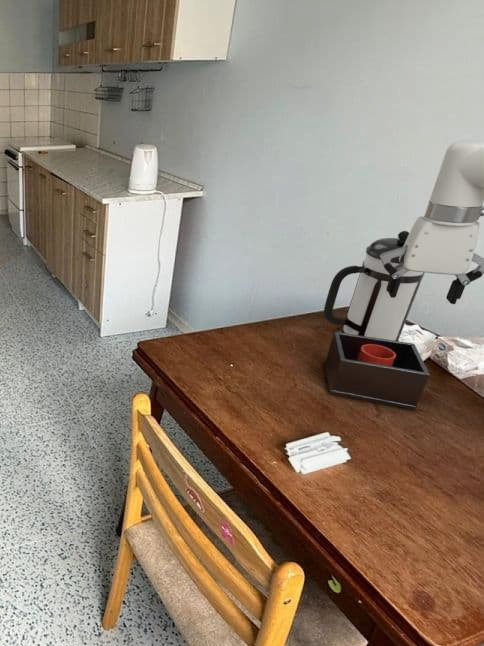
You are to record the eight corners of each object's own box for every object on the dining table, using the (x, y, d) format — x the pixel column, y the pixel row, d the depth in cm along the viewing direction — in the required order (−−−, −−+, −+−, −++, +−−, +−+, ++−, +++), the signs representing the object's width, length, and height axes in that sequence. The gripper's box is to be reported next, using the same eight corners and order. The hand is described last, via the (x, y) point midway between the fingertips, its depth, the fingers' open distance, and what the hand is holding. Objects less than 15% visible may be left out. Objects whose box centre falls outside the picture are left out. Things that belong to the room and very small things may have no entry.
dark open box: (400, 376, 110) (414, 343, 106) (414, 410, 99) (430, 374, 95) (324, 363, 116) (334, 331, 112) (329, 393, 105) (341, 359, 101)
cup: (381, 377, 109) (392, 347, 105) (386, 392, 104) (398, 361, 100) (349, 371, 111) (359, 342, 107) (352, 385, 106) (363, 355, 102)
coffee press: (349, 322, 135) (382, 218, 120) (412, 345, 122) (457, 232, 108) (313, 339, 127) (345, 230, 113) (377, 365, 115) (421, 247, 100)
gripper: (503, 211, 86) (468, 296, 94) (391, 206, 93) (366, 286, 101) (521, 221, 80) (481, 311, 88) (399, 214, 87) (372, 299, 95)
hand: (420, 298), depth 94 cm, fingers open, 9 cm apart
